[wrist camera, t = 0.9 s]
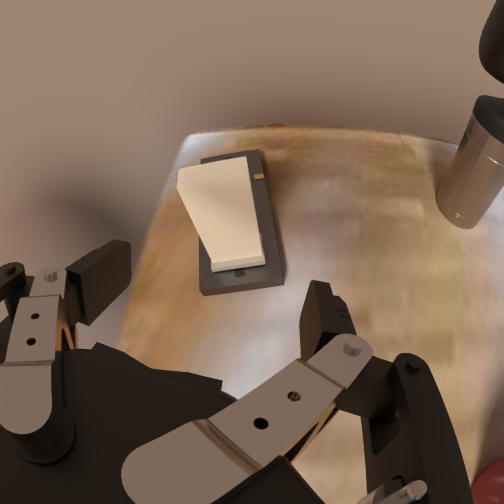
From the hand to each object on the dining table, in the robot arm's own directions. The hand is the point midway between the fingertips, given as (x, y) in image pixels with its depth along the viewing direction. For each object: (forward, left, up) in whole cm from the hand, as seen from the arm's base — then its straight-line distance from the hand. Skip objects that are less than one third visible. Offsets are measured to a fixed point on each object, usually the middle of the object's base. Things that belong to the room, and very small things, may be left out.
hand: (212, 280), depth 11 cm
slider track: (-12, -16, -21) cm, 29 cm away
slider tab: (-7, -10, -19) cm, 22 cm away
